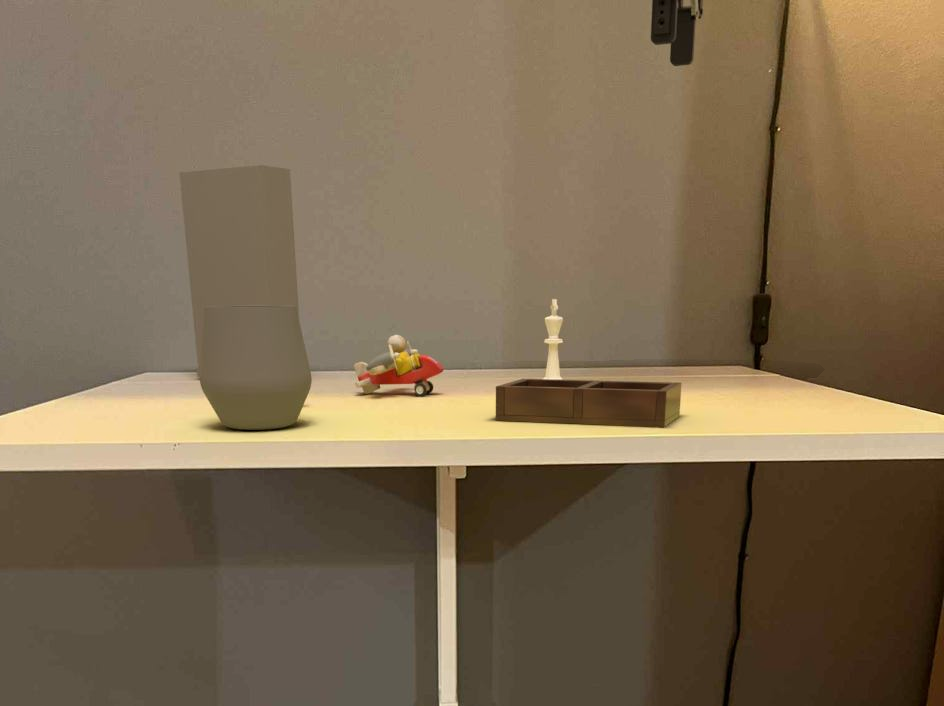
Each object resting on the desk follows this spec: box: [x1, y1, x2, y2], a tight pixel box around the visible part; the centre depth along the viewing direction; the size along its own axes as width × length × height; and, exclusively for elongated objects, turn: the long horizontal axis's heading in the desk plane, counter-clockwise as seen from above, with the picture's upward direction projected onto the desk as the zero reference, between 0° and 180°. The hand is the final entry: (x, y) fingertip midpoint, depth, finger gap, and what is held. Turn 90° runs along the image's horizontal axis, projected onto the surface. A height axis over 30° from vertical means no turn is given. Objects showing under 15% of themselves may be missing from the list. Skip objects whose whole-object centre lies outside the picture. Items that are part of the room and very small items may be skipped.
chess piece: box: [541, 298, 564, 380], centre depth 108 cm, size 5×5×10 cm
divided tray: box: [495, 378, 682, 428], centre depth 89 cm, size 15×8×3 cm, turn 69°
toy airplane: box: [353, 334, 444, 397], centre depth 110 cm, size 9×9×6 cm
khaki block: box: [179, 164, 300, 378], centre depth 126 cm, size 14×6×25 cm, turn 59°
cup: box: [199, 305, 313, 431], centre depth 84 cm, size 10×9×10 cm
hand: (672, 54), depth 95 cm, fingers open, 8 cm apart
